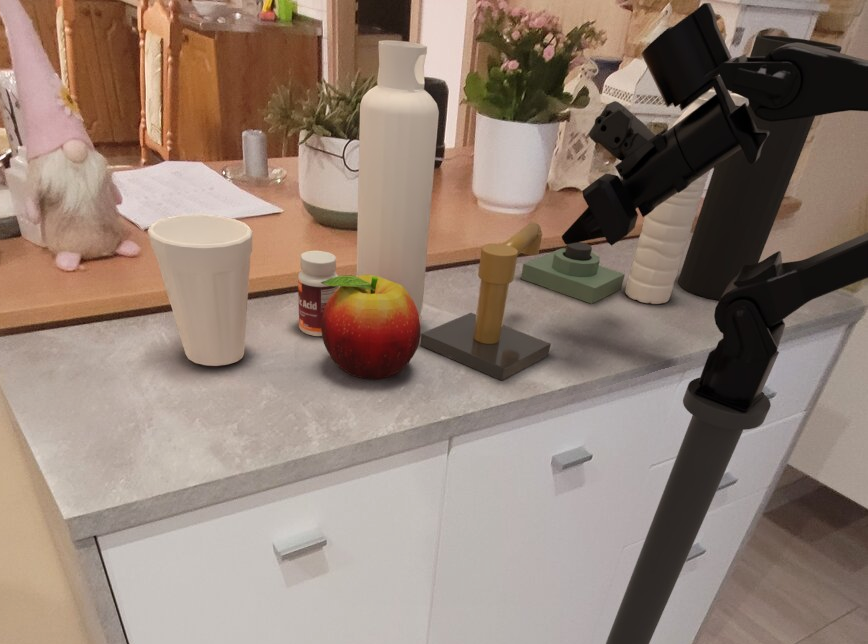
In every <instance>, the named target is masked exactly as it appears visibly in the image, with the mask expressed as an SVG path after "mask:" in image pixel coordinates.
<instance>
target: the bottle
mask: <svg viewBox="0 0 868 644" xmlns="http://www.w3.org/2000/svg"><path fill="white" fill-rule="evenodd" d="M377 47H378V61H379V62H378V63H379V64H378V71H377V78H376V79H377V81H376V84H377V85H375V86H374V87H372V88H370V89H369V90H367V92H366V93H364V95H363V96H362V98H361V101H360V103H359V132H358V133H359V136H358V137H359V138H358V141H359V142H358V179H357V181H358V185H357V186H358V189H357V227H356V230H357V231H356V233H357V235H356V275H355V277H357V276H360V275H374V276H379V277H381V278H384V279H387V280H389V281H392V282H395V283H397V284H400V285H401V286H403V287H404V289H405V290H406V291H407V292H408V293H409V295H410V296H411V298H412V300H413V301H414V303H415V306H416V308H417V311H418V314H419V320H420V331H421V328H422V311H423V306H424V305H423V304H424V293H425V280H426V269H427V257H428V247H429V234H430V233H429V232H430V224H431V223H430V221H431V210H432V200H433V198H432V197H433V187H434V175H435V174H434V173H435V164H436V163H435V162H436V151H437V139H438V128H439V127H438V126H439V117H440V116H439V115H440V111H439V107H438V103H437V102H436V101H435V99H434V98H433V96H432V95H431V94H430V93H429V92H428V91H427V90H426V89H425V63H426V58H427V55H428V54H427V53H428V46H427V45H426V44H423V43H418V42H412V41H405V40H390V39H389V40H387V39H385V40H378V46H377Z"/></svg>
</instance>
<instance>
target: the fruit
mask: <svg viewBox="0 0 868 644" xmlns="http://www.w3.org/2000/svg"><path fill="white" fill-rule="evenodd" d="M320 283H322V284H324V285H327V286H334V287H335V286H339V288H338V289H337V290H336V291H335V292H334V294H333V295H332V296H331V297H330V299H329V300H328V302H327V304H326V306H325V309H324V313H323V318H322V328H321V330H322V336H321V338H322V341H323V345H324V347H325V349H326V351H327V353H328V355H329V356H330V357H331V359H332V361H333V362H334V363H335V364H336V366H338V367H339V369H342V370H343V371H344V372H346V373H348V374H349V375H351V376H354V377H356V378H361V379H369V380H378V379H385V378H388V377H391V376H393V375H395V374H397V373H398V372H400V371H401V370H403V369H404V368H406V366H408V364H409V363H410V361H411V360H412V358H413V357H414V356H415V353H416V352H417V350H418V347H419V345H420V342H421V330H420V320H419V314H418V311H417V308H416V306H415V303H414V301H413V300H412V298H411V296H410V295H409V293H408V292H407V291H406V290H405V289H404V287H403V286H401V285H400V284H397V283H395V282H392V281H389V280H387V279H384V278H381V277H379V276H374V275H360V276H357V277H356V275H349V274H348V275H347V274H346V275H340V276H339V275H338V277H334V278H331V279H328V280H326V281H323V282H320Z"/></svg>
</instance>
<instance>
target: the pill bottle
mask: <svg viewBox="0 0 868 644" xmlns="http://www.w3.org/2000/svg"><path fill="white" fill-rule="evenodd" d="M299 262H300V266H299V267H300V270H301V271H300V272H299V273H298V275H297V296H298V297H297V299H298V300H297V301H298V304H297V305H298V327H299V329H300V330H301V331H302V332H303V333H304V334H306V335H309V336H313V337H322V330H321V328H322V318H323V313H324V309H325V306H326V304H327V302H328V300H329V299H330V297H331V296H332V295H333V294H334V292H335V291H336V290H337V289H338V288H339V287H340V286H335V287H334V286H327V285H324V284H322V283H320V282H323V281H326V280H328V279H331V278H334V277H339V274H338V273H337V272H336V271H337V257H336V255H334V254H333V253H331V252H329V251H324V250H307V251H304V252H302V253H301V254H300V261H299Z"/></svg>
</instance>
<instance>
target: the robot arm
mask: <svg viewBox="0 0 868 644" xmlns="http://www.w3.org/2000/svg"><path fill="white" fill-rule="evenodd" d="M641 56H642V59H643V60H644V63H645V65H646V67H647V69H648V71H649V74H650V75H651V77H652V79H653V82H654V83H655V86H656V88H657V89H658V90H657V91H658V92H659V94H660V96H661V98H662V100H663V102H664V104H665V106H666V108H669V107H671V106H672V105H673V107H674V108H677V107H679V109H680V112H683V111H684V110H686V109H687V108H688V107H689V106H690V105H691V104H692V103H694V102H695V101H696V100H698V99H699V98H700V97H701V96H703V95H704V94H705V93H707V92H708V91H709V90H711V89H712V90H715V92H716V94H715V95H714V96H713V97H711V98H710V99H709V100H707V101H706V102H705V103H703V104H702V105H701V106H700V107H698V108H697V109H696V110H694V111H693V112H692V113H690V114H689V115H688V116H686V117H685V118H684V119H682V120H681V121H680V122H678V123H677V124H676V125H674V126H673V127H672V126H671V127H672V128H671V127H670V128H669V129H668V128H667V127H666V128H664V129H663V130H662V131H660V132H658V133H657V134H655V133H654V132H652V130H651V129H650V128H649V127H647V125H646V124H645V123H644V122H643V121H641V120H640V119H639V118H638V117H637V116H636V115H635V114H633V113H632V112H631V111H630V109H628V108H626V107H625V106H624V105H623V104H622V103H620V102H619V101H616V100H614V101H612V102H610V103H607V104H606V105H605V107H604V108H603V110H602V112H601V113H600V115H598V116H596V118H595V119H594V124H593V126H592V127H591V129H590V130H589V131H588V134H587V135H588V137H589V138H590V139H591V141H593V142H594V143H595V144H599V145H600V146H602V147H603V148H604V149H605V150H606V151H607V152H608V153H610V154H611V155H612V156H613V157H614V158H616V159H617V160H619V161H620V162H618V163H617V164H616V165H615V166H614V167H615V169H616V171H617V173H618V174H617V175H616V174H612V173H604V174H603V175H602V176H600V177H598V178H597V179H596V180H594V181H593V182H591V183H590V184H589V185H588V186H586V187H585V188H584V189H583V190H581V193H582V198H583V200H584V201H585V203H586V205H587V207H586V209H585V210H584V211H583V212H582V213H581V214H580V215H579V216H578V218H577V219H575V221H574V222H573V223H572V224H571V225H570V227H568V229H567V230H566V231H565V232H564V233H563V234H562V235H561V239H562V242H563V243H564V244H565V245H566V246H567V244H572V243H577V242H581V243H583V242H586V241H591V240H597V239H602V238H605V240H606V242H607V243H608V244H609V245H610V246H614V245H615V244H616V243H618V242H620V240H623V239H624V238H625V237H627V236H628V235H629V234H630V233H631V232H632V231H633V230H634V229H635V227H636V224H637V221H638V217H639V213H640V215H641V216H642V218H645V217H646V215H647V214H649V213H650V212H652V211H653V210H654V209H655V208H656V207H657V206H658V205H660V204H661V203H663V202H664V201H666V200H667V199H669V198H670V197H672V196H673V195H674V194H676V193H677V192H678V193H679V192H681V191H682V190H684V189H685V188H687V187H688V186H689V185H690V184H691V183H692V182H693V181H695V180H696V179H698V178H699V177H701V176H702V175H704V174H705V173H707V172H708V171H709V170H710V171H711V170H712V169H714V167H715V166H717V165H718V164H720V163H721V162H723V161H724V160H726V159H727V158H728V157H730V156H731V155H733V154H734V153H736V152H737V151H739V150H740V149H742V151H743V153H744V155H745V157H746V160H747V162H748V163H749V164H750V165H752V164H754V163H755V162H756V161H757V159H758V158H759V157H760V153H761V149H762V146H763V144H764V142H765V140H766V138H767V137H768V136H769V131H768V130H760V129H757V127H756V125H755V123H754V121H753V119H752V116H751V114H750V112H749V110H748V107H747V105H746V103H744V104H743V105H741V106H740V107H738V108H737V107H736V105H735V103H734V102H733V100H732V98H731V96H730V94H731V93H736V94H738V95H740V96H743V97H745V98H747V99H748V100H749V105H750V107H751V108H752V110H753V112H754V113H755V115H756V116H757V117H759V118H760V119H762V120H766V121H770V122H775V121H784V120H791V119H799V118H807V117H813V116H815V117H818V116H824V115H829V114H835V113H842V112H851V111H852V112H868V59H863V58H861V57H856V56H852V55H849V54H846V53H842V52H840V53H839V52H836V51H832V50H828V49H824V48H820V47H816V46H812V45H808V44H804V43H798V42H797V43H790V44H786V45H783V46H781V47H779V48H777V49H775V50H773V51H772V52H770V53H769V54H768V55H767V56H766V57H750V56H747V53H744V54H742V55H740V56H736V57H733V56H732V55H731V52H730V51H729V48H728V46H727V43H726V41H725V39H724V37H723V35H722V32H721V30H720V28H719V25H718V21H717V16H716V13H715V11H714V8H713V6H712V4H711V2H704V3H702V4H701V5H700V6H699V7H698V8H697V9H695V10H693V12H691V13H689V14H688V15H686V16H685V17H684V18H683V19H681V20H680V21H678V22H677V23H676V24H675V25H672V26H668V28H666V29H665V30H664V31H662V32H661V33H660V34H659V35H658V36H657V37H656V38H655V39H654V40H652V42H650V43H649V44H648V46H646V47H645V48H644V49H643V51H642V52H641ZM732 57H733V58H732ZM730 92H731V93H730ZM637 209H638V211H639V213H638V211H637ZM866 279H868V232H866V233H863V234H861V235H859V236H856V237H853V238H851V239H849V240H847V241H844V242H842V243H840V244H837V245H834V246H833V247H831V248H829V249H826V250H824V251H822V252H819V253H816V254H814V255H811V256H809V257H807V258H804V259H801V260H795V261H787V262H783V258H782V251H780V250H778V251H776V252H774V253H773V254H771V255H769V256H768V257H766V258H765V259H764V260H761V261H759V262H758V263H757V264H753V265H744V266H743V267H742V269H741V271H740V273H739V274H738V276H736V277H735V278H734V279H733V280H732V281H731V282H730V283H729V284H728V286H727V288H726V289H725V291H724V293H723V295H722V296H721V298H720V300H718V302H717V304H716V306H715V307H714V316H713V317H714V322H715V325H716V328H717V329H718V331H719V332H720V333H721V334H722V338H721V339H720V340H718V341H717V345H716V347H715V348H713V349H712V350H711V351H710V352H708V355H707V357H706V361H705V363H704V365H703V369H702V372H701V374H700V376H699V378H700V379H699V385H701V386H700V387H699V388H697V389H696V391H695V394H696V395H698V396H700V397H703V398H706V399H708V400H711V401H713V402H716V403H719V404H721V405H724V406H726V407H729V408H731V409H734V410H737V411H739V412H742V413H746V412H747V411H749V410H750V409H751V408H752V407H753V406H754V405H755V404H756V403H757V402H758V401H759V400H760V399H762V398H763V396H764V394H765V392H764V391H763V390H764V388H765V385H766V383H767V381H768V379H769V376H770V374H771V373H772V370H773V367H774V365H775V363H776V361H777V359H778V356H779V353H780V352H779V351H778V349H779V346H780V343H781V340H782V337H783V334H784V331H785V328H786V322H785V321H784V319H786V318H787V317H789V316H790V315H792V314H793V313H794V312H796V311H798V310H799V309H800V308H801V307H803V306H804V305H806V304H807V303H809V302H811V301H813V300H815V299H817V298H820V297H823V296H825V295H828V294H830V293H833V292H836V291H838V290H841V289H843V288H845V287H848V286H851V285H853V284H856V283H858V282H861V281H863V280H866Z"/></svg>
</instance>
